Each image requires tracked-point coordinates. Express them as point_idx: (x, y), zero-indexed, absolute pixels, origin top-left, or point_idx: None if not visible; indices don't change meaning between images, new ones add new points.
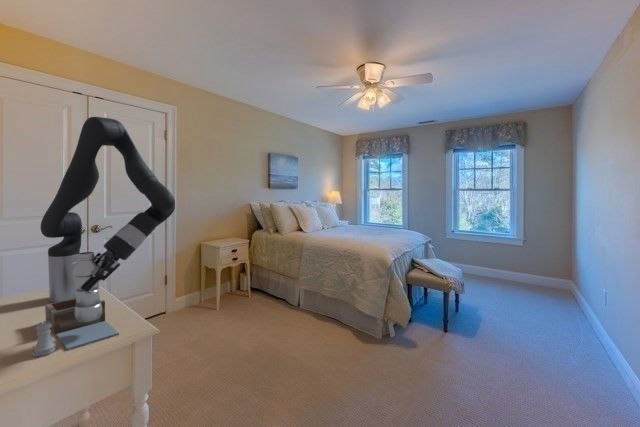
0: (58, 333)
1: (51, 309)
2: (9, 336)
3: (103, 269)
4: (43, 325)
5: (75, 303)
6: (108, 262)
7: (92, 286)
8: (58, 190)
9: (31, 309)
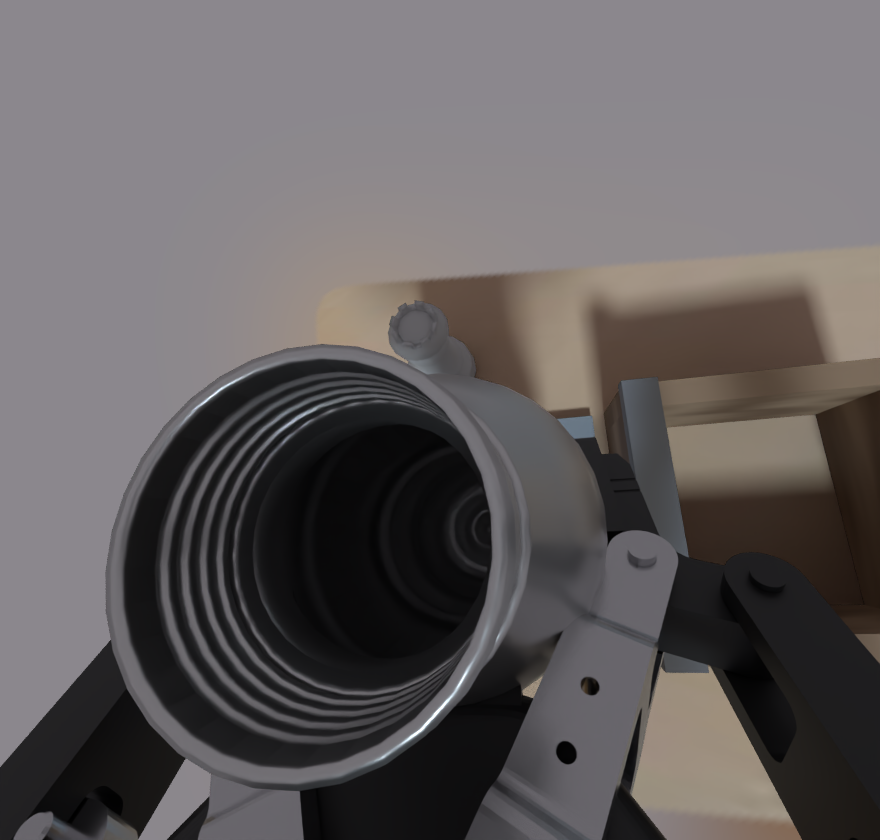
0: (591, 422)
1: (759, 378)
2: (724, 268)
3: (81, 676)
4: (392, 323)
5: None
6: (25, 838)
7: None
8: None
9: None
